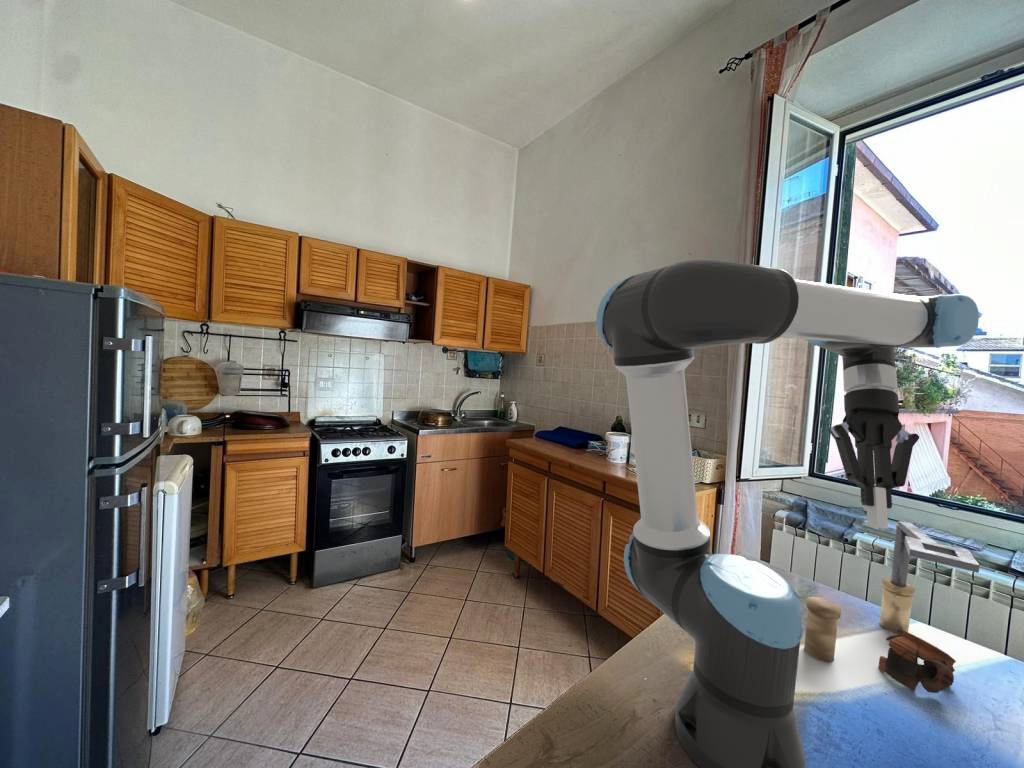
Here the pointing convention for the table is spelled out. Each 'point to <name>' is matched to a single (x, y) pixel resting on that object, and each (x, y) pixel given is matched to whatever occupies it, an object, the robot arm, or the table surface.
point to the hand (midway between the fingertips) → (877, 527)
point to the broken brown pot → (906, 666)
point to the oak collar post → (821, 628)
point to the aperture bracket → (896, 588)
